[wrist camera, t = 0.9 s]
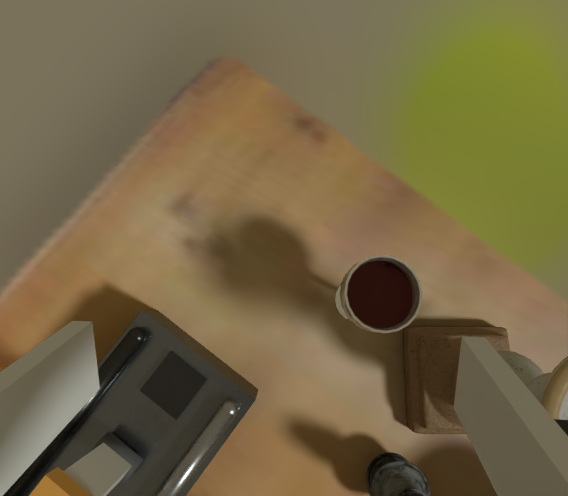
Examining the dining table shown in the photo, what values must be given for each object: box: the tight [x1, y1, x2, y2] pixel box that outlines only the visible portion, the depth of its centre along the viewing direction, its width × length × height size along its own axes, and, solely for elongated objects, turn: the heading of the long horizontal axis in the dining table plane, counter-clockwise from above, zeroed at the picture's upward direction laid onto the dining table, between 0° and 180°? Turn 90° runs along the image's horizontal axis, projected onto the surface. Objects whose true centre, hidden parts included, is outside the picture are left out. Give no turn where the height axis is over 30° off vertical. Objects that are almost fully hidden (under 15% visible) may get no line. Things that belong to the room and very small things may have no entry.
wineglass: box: [335, 255, 422, 333], centre depth 42 cm, size 7×7×12 cm
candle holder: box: [403, 326, 568, 434], centre depth 35 cm, size 11×11×24 cm
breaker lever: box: [29, 431, 144, 496], centre depth 33 cm, size 2×4×11 cm, turn 53°
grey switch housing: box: [3, 310, 258, 496], centre depth 41 cm, size 22×14×8 cm, turn 143°
